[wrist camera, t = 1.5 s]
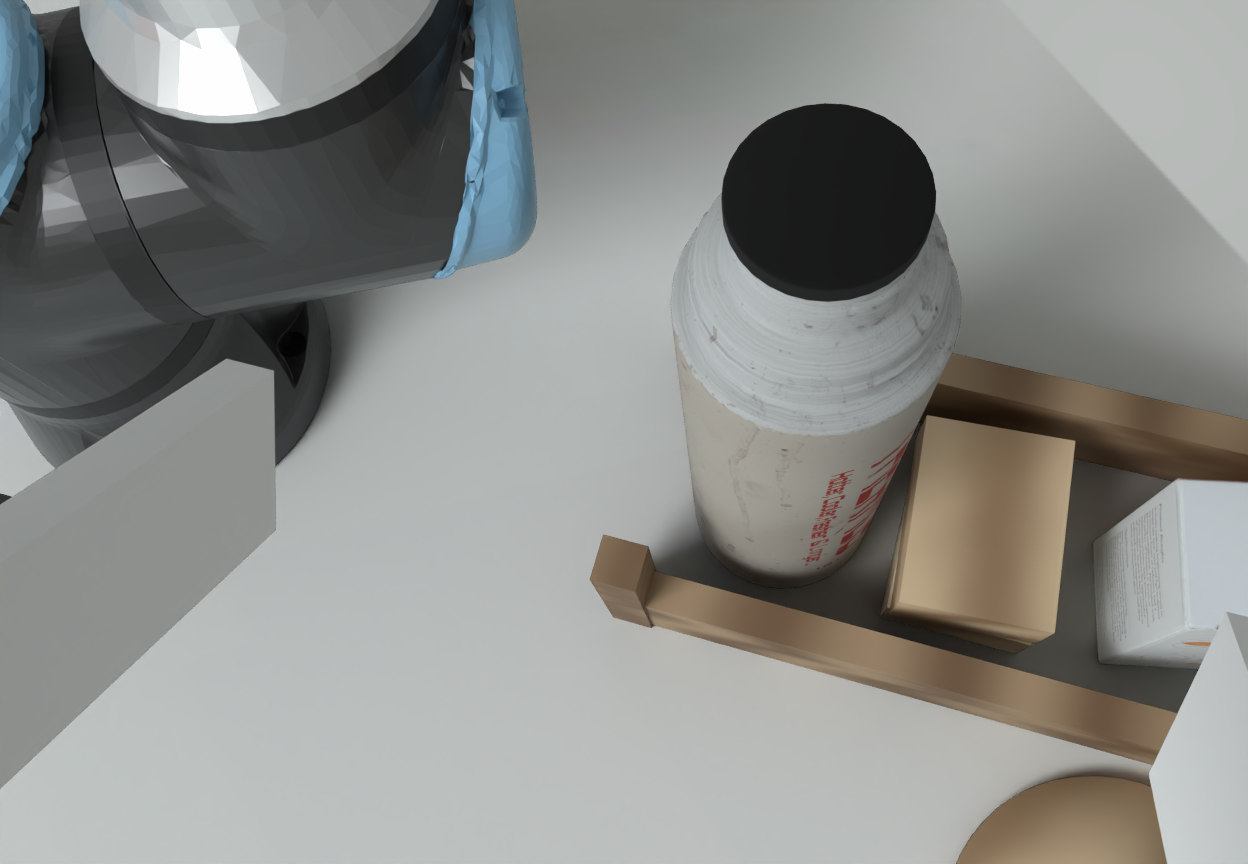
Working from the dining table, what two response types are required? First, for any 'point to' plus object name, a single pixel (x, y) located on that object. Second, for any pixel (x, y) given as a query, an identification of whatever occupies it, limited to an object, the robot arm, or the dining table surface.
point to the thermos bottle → (809, 337)
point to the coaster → (1071, 825)
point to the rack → (991, 397)
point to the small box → (1172, 574)
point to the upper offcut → (984, 529)
